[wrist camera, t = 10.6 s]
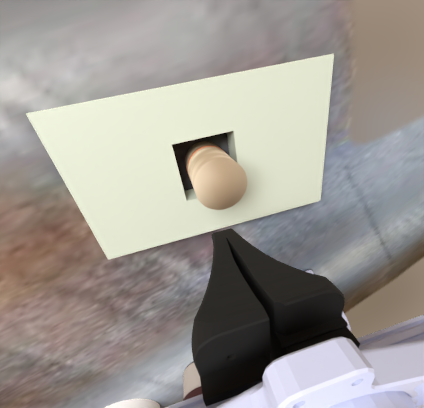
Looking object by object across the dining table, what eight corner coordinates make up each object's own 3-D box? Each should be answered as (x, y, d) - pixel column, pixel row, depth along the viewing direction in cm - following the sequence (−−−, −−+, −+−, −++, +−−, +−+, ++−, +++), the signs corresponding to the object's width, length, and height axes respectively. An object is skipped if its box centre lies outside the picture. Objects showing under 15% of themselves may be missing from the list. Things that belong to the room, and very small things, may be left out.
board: (314, 58, 19) (334, 53, 17) (307, 192, 26) (320, 200, 24) (43, 111, 17) (25, 113, 15) (113, 244, 24) (108, 259, 21)
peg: (220, 137, 21) (245, 153, 15) (225, 174, 23) (248, 203, 17) (180, 144, 20) (189, 165, 14) (188, 182, 22) (199, 215, 16)
